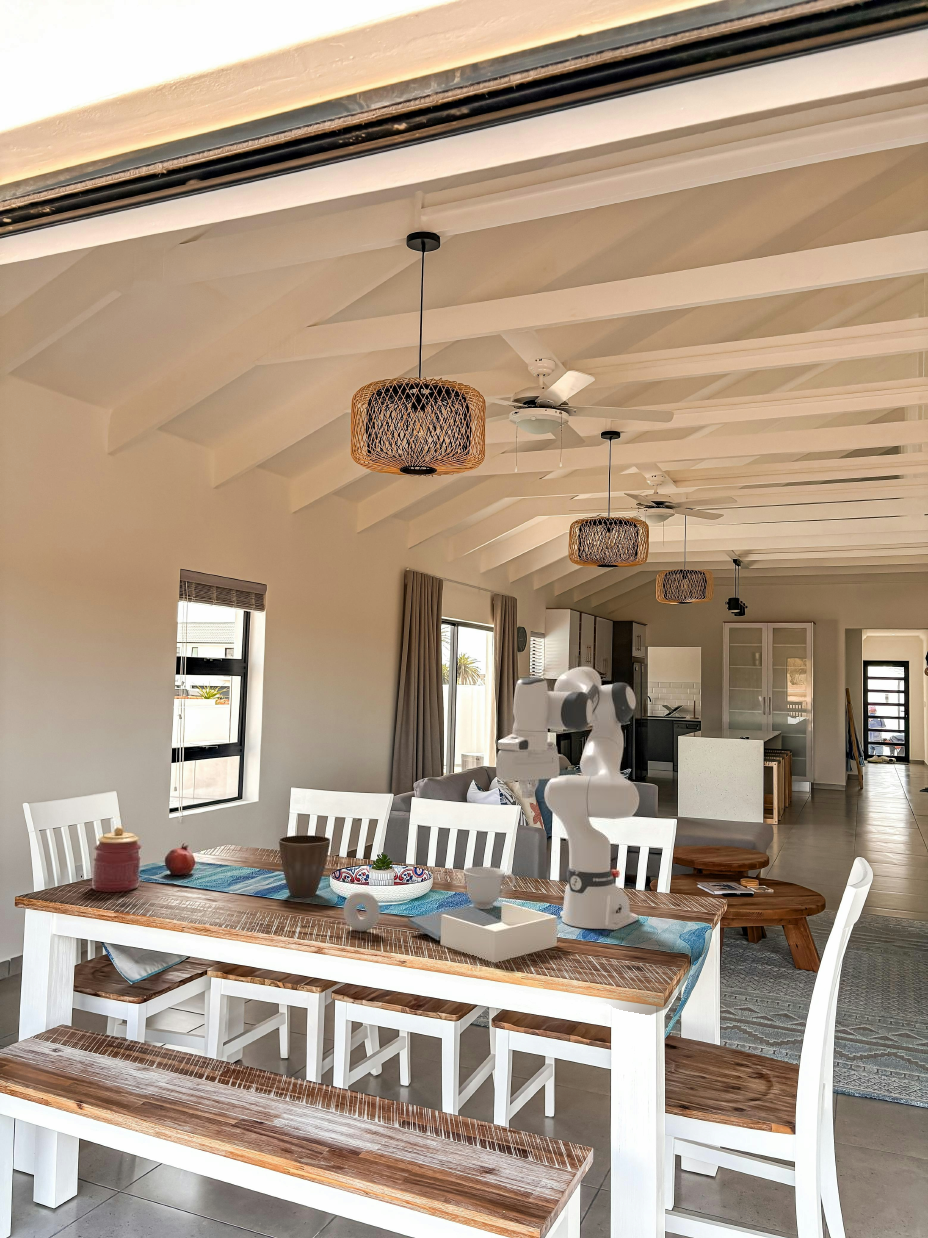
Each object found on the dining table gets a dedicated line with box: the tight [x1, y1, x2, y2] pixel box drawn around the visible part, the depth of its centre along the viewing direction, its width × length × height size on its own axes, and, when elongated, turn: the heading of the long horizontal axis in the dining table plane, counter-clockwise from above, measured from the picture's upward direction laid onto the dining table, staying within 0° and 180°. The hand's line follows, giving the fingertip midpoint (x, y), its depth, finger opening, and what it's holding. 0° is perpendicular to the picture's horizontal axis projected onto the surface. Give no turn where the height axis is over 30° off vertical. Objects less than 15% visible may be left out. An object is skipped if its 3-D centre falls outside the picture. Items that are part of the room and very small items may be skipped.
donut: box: [343, 890, 381, 932], centre depth 224 cm, size 10×4×10 cm, turn 67°
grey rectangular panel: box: [407, 905, 501, 941], centre depth 227 cm, size 2×22×12 cm
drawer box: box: [440, 901, 558, 964], centre depth 216 cm, size 18×22×7 cm
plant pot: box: [278, 834, 331, 898], centre depth 261 cm, size 15×15×16 cm
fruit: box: [164, 843, 196, 877], centre depth 282 cm, size 9×10×10 cm
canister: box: [91, 826, 142, 893], centre depth 262 cm, size 13×13×18 cm
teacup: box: [463, 866, 516, 910], centre depth 253 cm, size 12×15×10 cm
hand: (528, 798), depth 222 cm, fingers closed
